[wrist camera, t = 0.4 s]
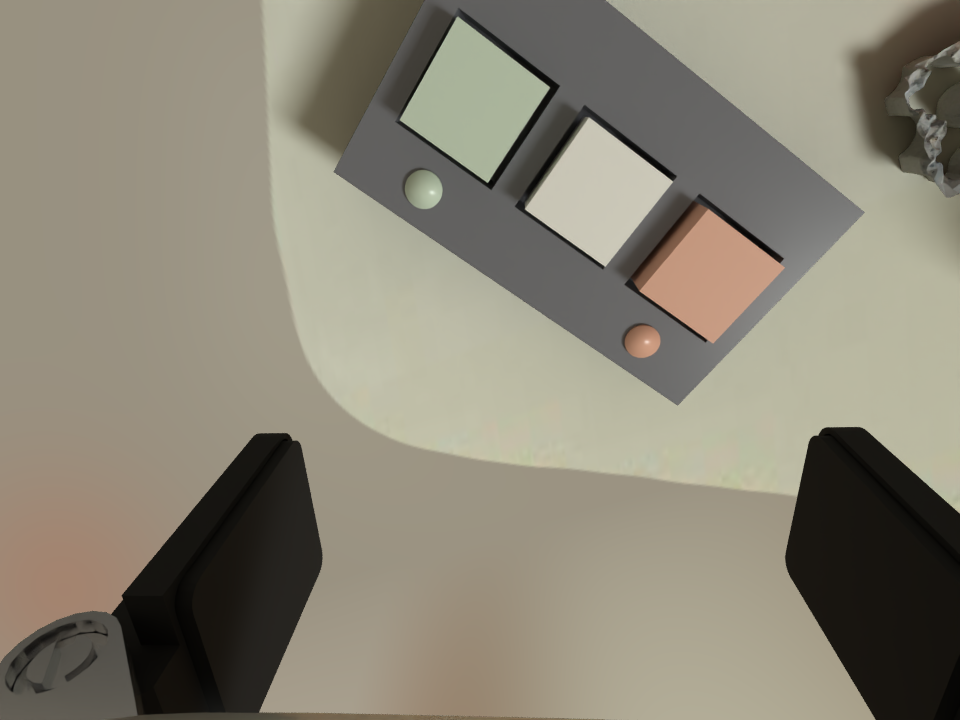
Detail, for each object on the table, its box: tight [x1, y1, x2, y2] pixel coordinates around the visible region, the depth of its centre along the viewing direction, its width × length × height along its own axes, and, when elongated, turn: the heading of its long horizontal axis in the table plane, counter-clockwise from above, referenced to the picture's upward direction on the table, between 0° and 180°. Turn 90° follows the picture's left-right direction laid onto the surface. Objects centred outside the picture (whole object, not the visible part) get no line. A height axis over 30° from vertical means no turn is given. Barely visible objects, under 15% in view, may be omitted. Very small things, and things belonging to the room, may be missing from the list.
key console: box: [334, 0, 865, 405], centre depth 32 cm, size 14×24×5 cm, turn 56°
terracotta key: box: [631, 201, 785, 343], centre depth 31 cm, size 5×5×3 cm
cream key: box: [525, 117, 673, 267], centre depth 30 cm, size 5×5×3 cm
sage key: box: [400, 16, 550, 183], centre depth 28 cm, size 5×5×3 cm
